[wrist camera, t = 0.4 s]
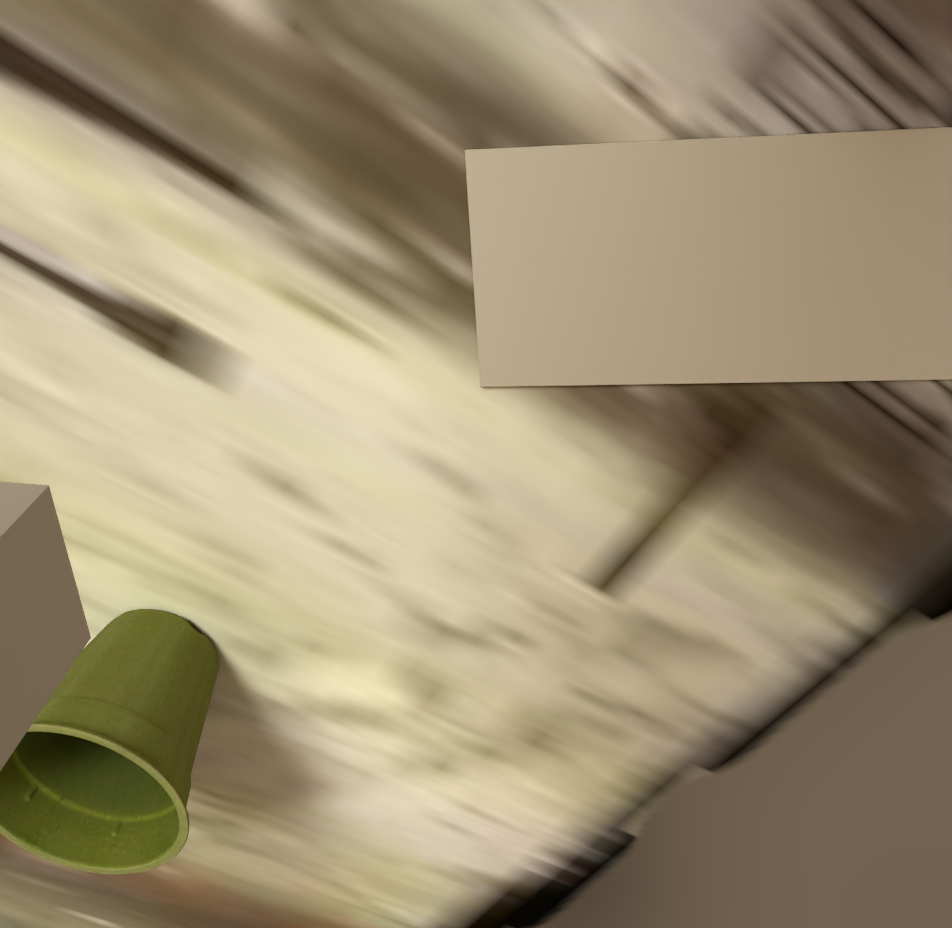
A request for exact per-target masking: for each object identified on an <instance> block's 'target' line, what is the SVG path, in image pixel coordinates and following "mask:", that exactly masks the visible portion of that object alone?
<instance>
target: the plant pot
mask: <svg viewBox="0 0 952 928" xmlns="http://www.w3.org/2000/svg"><path fill="white" fill-rule="evenodd" d="M217 672H218V657H217V653H216V651H215V649H214V647H213V645H212V643H211V642H210V640H209V639H208V638H207V637H206V636H205V635H202V634H200V633H199V632H197V631H196V630H195V629H194V628H193V627H192V626H191V625H190V624H189V623H188V622H187V621H186V620H185V619H183V618H181V617H179V616H176V615H174V614H171V613H168V612H164V611H159V610H152V609H139V610H132V611H128V612H126V613H123V614H122V615H120V616H118V617H117V618H115V619H114V620H112V621H111V622H110V623H109V624H108V625H107V626H106V627H105V628H104V629H103V630H102V631H101V632H100V633H99V634H98V635H97V636H96V637H95V638H94V639H93V640H92V641H91V642H90V643H89V644H88V645H87V646H86V647H85V648H84V649H83V650H82V651H81V653H80V654H79V656H78V657H77V659H76V660H75V662H74V663H73V664H72V666H71V667H70V669H69V670H68V672H67V673H66V675H65V676H64V678H63V679H62V681H61V682H60V684H59V685H58V687H57V688H56V690H55V691H54V693H53V694H52V695H51V697H50V698H49V700H48V701H47V703H46V704H45V706H44V707H43V709H42V710H41V712H40V713H39V715H38V716H37V718H36V719H35V721H34V722H33V723H32V725H31V726H30V728H29V729H28V731H27V732H26V734H25V735H24V737H23V738H22V740H21V741H20V743H19V744H18V746H17V747H16V749H15V750H14V752H13V753H12V754H11V756H10V757H9V759H8V760H7V762H6V763H5V765H4V766H3V768H2V769H1V771H0V834H2V835H3V836H5V837H6V838H7V839H8V840H10V841H12V842H13V843H15V844H17V845H18V846H20V847H22V848H23V849H26V850H28V851H30V852H32V853H33V854H35V855H37V856H40V857H42V858H44V859H46V860H49V861H52V862H54V863H57V864H60V865H63V866H69V867H71V868H75V869H78V870H82V871H87V872H94V873H102V874H128V873H138V872H143V871H148V870H151V869H153V868H156V867H159V866H161V865H163V864H165V863H167V862H168V861H170V860H171V859H173V858H174V857H175V856H176V855H177V854H178V853H179V852H180V851H181V849H182V848H183V846H184V845H185V842H186V840H187V837H188V833H189V817H188V812H187V809H186V805H187V801H188V797H189V792H190V788H191V778H190V775H191V771H192V767H193V763H194V759H195V755H196V752H197V748H198V744H199V740H200V736H201V732H202V729H203V725H204V721H205V718H206V714H207V710H208V706H209V702H210V699H211V695H212V691H213V687H214V683H215V679H216V675H217Z"/></svg>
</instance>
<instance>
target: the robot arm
mask: <svg viewBox="0 0 952 928" xmlns="http://www.w3.org/2000/svg"><path fill="white" fill-rule="evenodd" d="M90 638H91V637H90V633H89V629H88V626H87V622H86V619H85V615H84V611H83V608H82V604H81V601H80V597H79V593H78V590H77V586H76V582H75V579H74V575H73V572H72V568H71V564H70V561H69V557H68V553H67V550H66V546H65V543H64V539H63V535H62V532H61V528H60V524H59V521H58V517H57V514H56V510H55V506H54V503H53V499H52V495H51V492H50V488H49V486H48V485H36V484H23V483H11V482H0V771H1V769H2V768H3V766H4V765H5V763H6V762H7V760H8V759H9V757H10V756H11V754H12V753H13V752H14V750H15V749H16V747H17V746H18V744H19V743H20V741H21V740H22V738H23V737H24V735H25V734H26V732H27V731H28V729H29V728H30V726H31V725H32V723H33V722H34V721H35V719H36V718H37V716H38V715H39V713H40V712H41V710H42V709H43V707H44V706H45V704H46V703H47V701H48V700H49V698H50V697H51V695H52V694H53V693H54V691H55V690H56V688H57V687H58V685H59V684H60V682H61V681H62V679H63V678H64V676H65V675H66V673H67V672H68V670H69V669H70V667H71V666H72V664H73V663H74V662H75V660H76V659H77V657H78V656H79V654H80V653H81V651H82V650H83V648H84V647H85V645H86V644H87V642H88V641H89V639H90Z"/></svg>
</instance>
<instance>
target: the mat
mask: <svg viewBox="0 0 952 928" xmlns="http://www.w3.org/2000/svg"><path fill="white" fill-rule="evenodd" d="M465 162H466V177H467V192H468V207H469V222H470V237H471V252H472V267H473V282H474V297H475V312H476V327H477V342H478V357H479V372H480V387H503V386H567V385H631V384H694V383H758V382H822V381H886V380H949V379H952V127H940V128H919V129H897V130H876V131H855V132H833V133H812V134H791V135H769V136H748V137H727V138H706V139H684V140H663V141H642V142H620V143H599V144H578V145H556V146H535V147H514V148H493V149H471V150H465Z"/></svg>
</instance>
